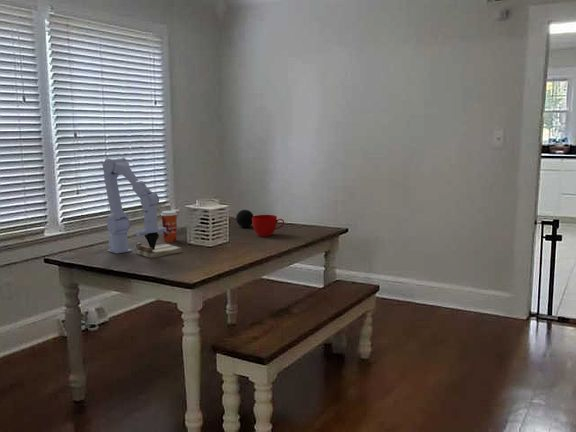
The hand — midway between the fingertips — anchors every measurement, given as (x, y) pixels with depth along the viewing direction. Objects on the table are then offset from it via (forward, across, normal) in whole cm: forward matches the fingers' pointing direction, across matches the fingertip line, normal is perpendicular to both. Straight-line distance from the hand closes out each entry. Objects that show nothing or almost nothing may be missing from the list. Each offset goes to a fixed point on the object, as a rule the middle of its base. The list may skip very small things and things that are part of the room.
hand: (152, 249), depth 273 cm
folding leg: (+1, -2, +4) cm, 5 cm away
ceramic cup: (+3, +67, -4) cm, 67 cm away
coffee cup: (+3, +24, +24) cm, 34 cm away
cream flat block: (+3, +5, +4) cm, 7 cm away
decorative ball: (+3, +74, +24) cm, 78 cm away
